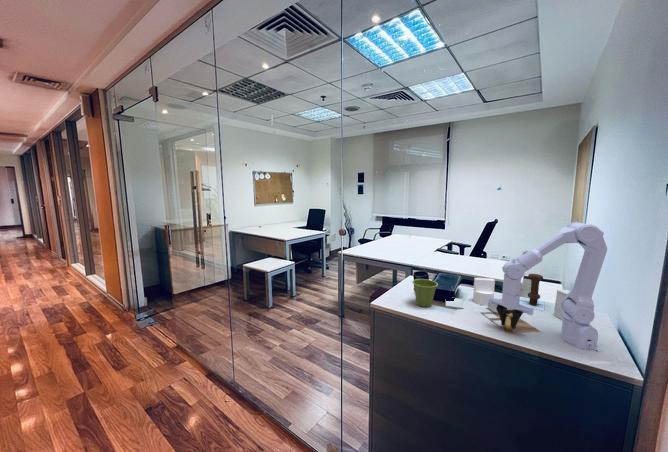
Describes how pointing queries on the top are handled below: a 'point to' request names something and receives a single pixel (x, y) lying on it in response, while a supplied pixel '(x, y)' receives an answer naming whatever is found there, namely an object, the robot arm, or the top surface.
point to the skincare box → (559, 298)
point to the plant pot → (424, 291)
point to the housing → (493, 307)
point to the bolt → (534, 288)
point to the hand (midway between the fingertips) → (508, 326)
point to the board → (520, 327)
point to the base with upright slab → (483, 290)
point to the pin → (508, 323)
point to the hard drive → (455, 304)
